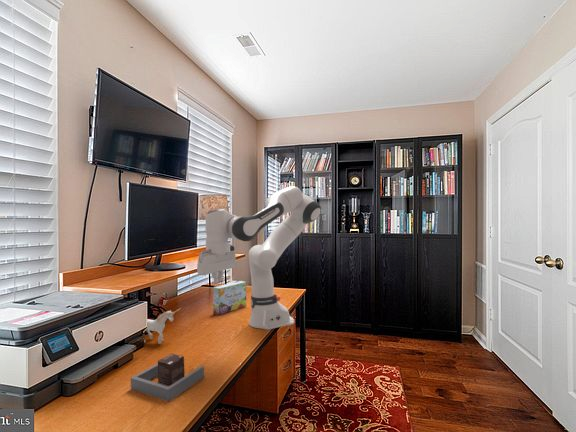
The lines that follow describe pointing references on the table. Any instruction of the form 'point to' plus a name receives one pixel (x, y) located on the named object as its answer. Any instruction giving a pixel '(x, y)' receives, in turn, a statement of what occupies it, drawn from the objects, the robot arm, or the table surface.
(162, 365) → the box
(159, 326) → the unicorn figurine
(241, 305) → the snack box
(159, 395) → the box
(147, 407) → the table surface
